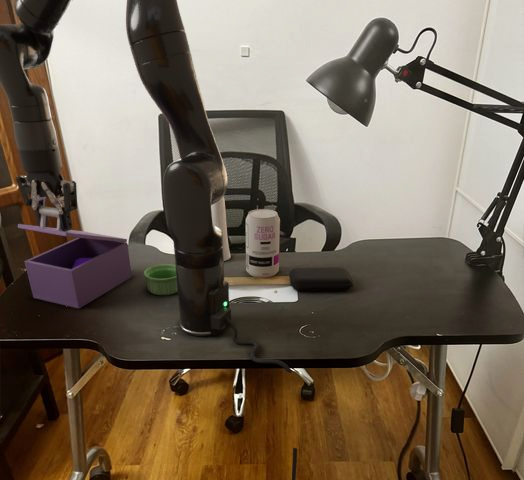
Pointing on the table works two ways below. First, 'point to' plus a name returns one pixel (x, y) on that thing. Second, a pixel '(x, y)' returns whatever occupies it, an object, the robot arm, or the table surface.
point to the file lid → (58, 231)
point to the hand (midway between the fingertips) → (55, 228)
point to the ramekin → (161, 279)
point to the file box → (78, 271)
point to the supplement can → (262, 243)
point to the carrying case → (320, 279)
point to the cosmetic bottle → (221, 224)
